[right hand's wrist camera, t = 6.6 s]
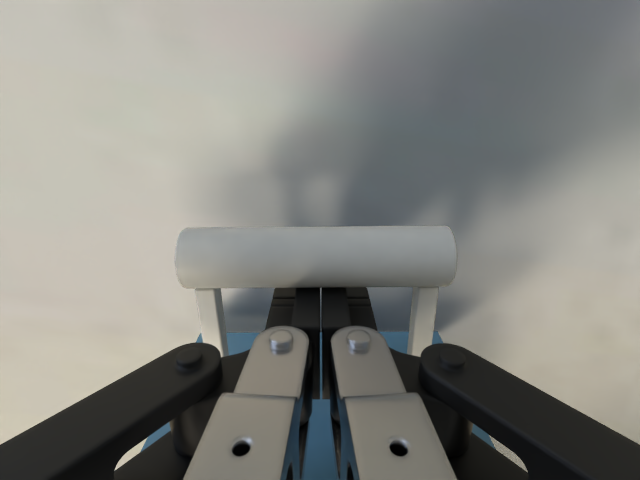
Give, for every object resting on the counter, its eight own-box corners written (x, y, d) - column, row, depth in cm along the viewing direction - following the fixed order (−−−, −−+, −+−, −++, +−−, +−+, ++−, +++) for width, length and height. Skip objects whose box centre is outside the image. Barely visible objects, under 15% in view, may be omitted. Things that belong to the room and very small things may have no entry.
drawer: (179, 196, 13) (58, 282, 7) (455, 194, 13) (571, 278, 7) (234, 548, 21) (198, 734, 15) (409, 547, 21) (446, 734, 15)
